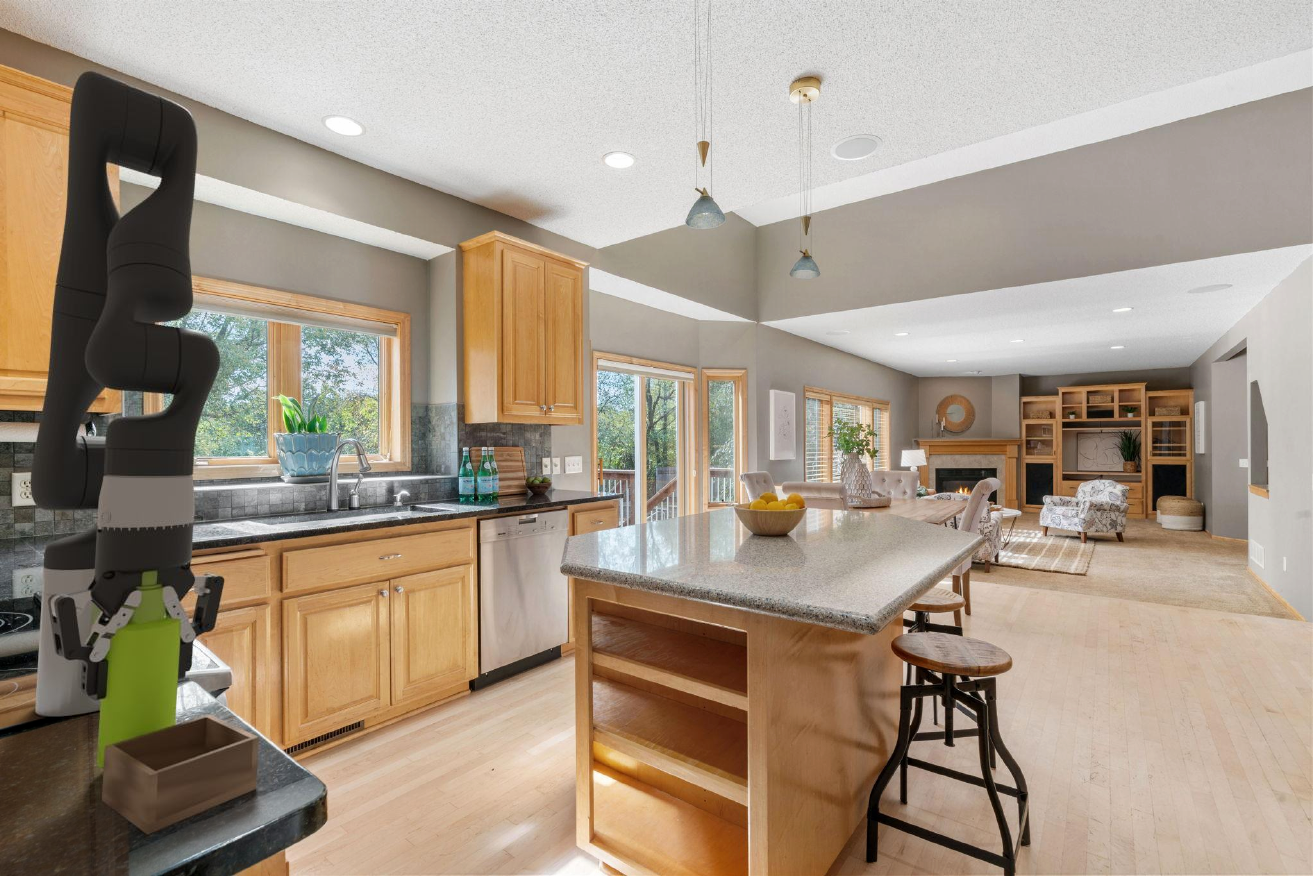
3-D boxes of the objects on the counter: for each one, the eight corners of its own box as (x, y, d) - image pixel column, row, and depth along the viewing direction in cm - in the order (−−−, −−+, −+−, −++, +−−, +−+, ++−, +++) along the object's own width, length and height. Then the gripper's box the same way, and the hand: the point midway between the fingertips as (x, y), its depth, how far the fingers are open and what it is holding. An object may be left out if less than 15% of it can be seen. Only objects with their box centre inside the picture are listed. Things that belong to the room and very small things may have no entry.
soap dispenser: (163, 732, 66) (174, 546, 67) (181, 754, 62) (192, 554, 62) (89, 751, 62) (102, 551, 62) (103, 776, 57) (116, 560, 58)
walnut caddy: (101, 800, 55) (104, 746, 56) (207, 762, 63) (209, 714, 63) (147, 834, 51) (150, 775, 51) (256, 788, 58) (258, 737, 58)
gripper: (209, 512, 70) (202, 660, 70) (36, 522, 58) (26, 702, 57) (243, 517, 66) (235, 674, 66) (66, 529, 54) (55, 722, 54)
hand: (138, 686), depth 62 cm, fingers closed on soap dispenser, 6 cm apart
